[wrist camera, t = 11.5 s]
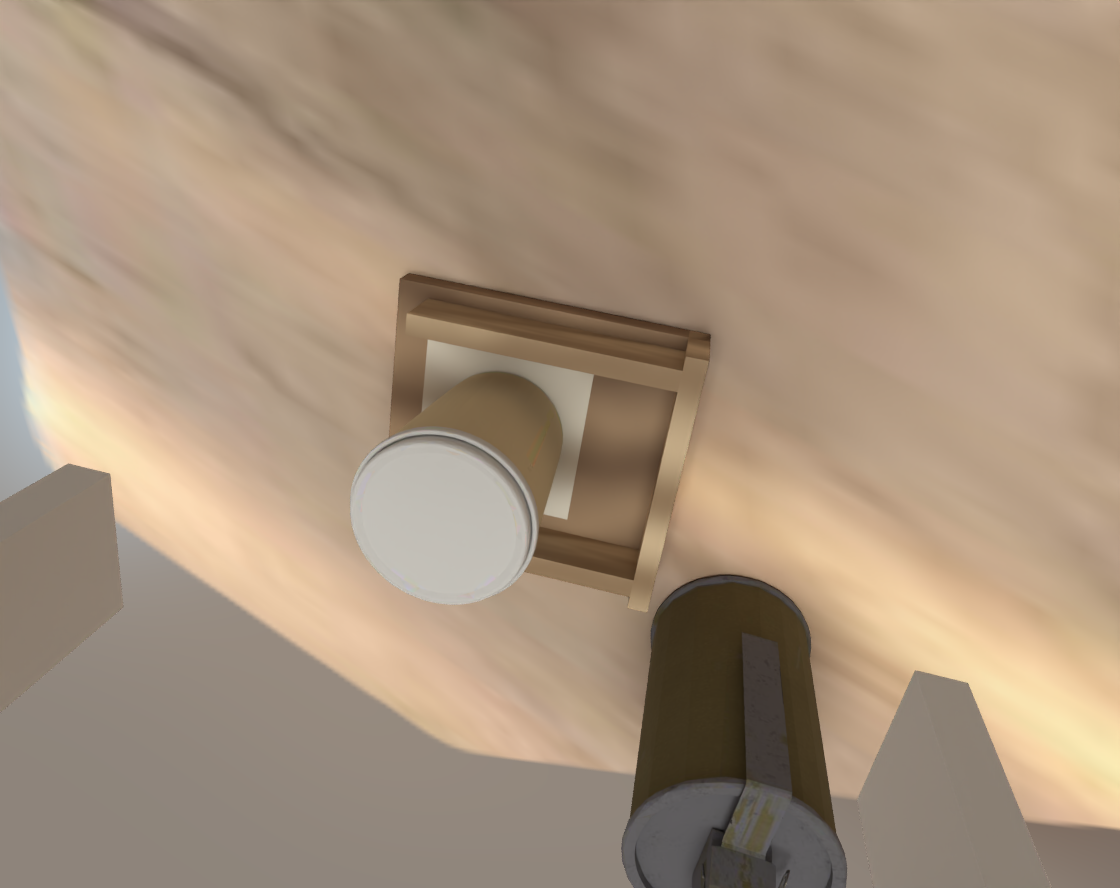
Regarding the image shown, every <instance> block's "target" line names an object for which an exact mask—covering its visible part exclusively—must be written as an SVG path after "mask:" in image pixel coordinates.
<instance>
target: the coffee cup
mask: <svg viewBox="0 0 1120 888" xmlns="http://www.w3.org/2000/svg"><path fill="white" fill-rule="evenodd" d="M562 444H563V430H562V424H561V420H560V417H559V414H558V412H557V410H556V408H555V405H554V404H553V403H552V401H551V400H550V398H549V397H548V396H547V395H546V393H545V392H544V391H543V390H542V389H541V388H539V387H538V386H537V385H535V384H534V383H532V382H531V381H529V380H527V379H525V378H523V377H521V376H518V375H515V374H511V373H507V372H498V371H496V372H484V373H479V374H476V375H473V376H471V377H469V378H467V379H465V380H463V381H462V382H460V383H459V384H457V385H456V386H454V387H453V388H452V389H450V390H449V391H448V392H446V393H445V394H444V395H443V396H441V397H440V398H439V399H438V400H436V401H435V402H434V403H432V404H431V405H430V406H429V407H427V408H426V409H425V410H424V411H422V412H421V413H420V414H419V415H417V416H416V417H415V418H414V419H413V420H411V421H410V422H409V423H408V424H406V425H405V426H404V427H403V428H401V429H400V430H399V431H398V432H397V433H395V434H394V435H392V436H390V437H389V438H387V439H386V440H384V441H383V442H381V443H380V444H378V445H377V446H376V447H375V448H374V449H372V450H371V452H370V453H369V454H368V455H367V456H366V457H365V459H364V460H363V462H362V463H361V465H360V466H359V468H358V470H357V472H356V475H355V477H354V480H353V484H352V488H351V496H350V516H351V523H352V527H353V531H354V535H355V537H356V540H357V543H358V545H359V547H360V549H361V550H362V552H363V554H364V555H365V557H366V559H367V560H368V561H369V562H370V564H371V565H372V566H373V567H374V568H375V570H376V571H377V572H378V573H379V574H380V575H381V576H383V577H384V578H385V579H386V580H387V581H388V582H390V583H391V584H392V585H394V586H395V587H397V588H399V589H400V590H402V591H404V592H406V593H407V594H409V595H412V596H414V597H417V598H419V599H422V600H425V601H429V602H434V603H440V604H451V605H458V604H468V603H474V602H477V601H481V600H483V599H486V598H489V597H491V596H493V595H496V594H498V593H500V592H501V591H503V590H505V589H506V588H508V587H509V586H510V585H512V584H513V583H514V582H515V581H516V580H517V579H518V578H519V577H520V576H521V575H522V573H523V572H524V571H525V569H526V568H527V566H528V565H529V563H530V561H531V559H532V557H533V554H534V551H535V548H536V544H537V539H538V532H539V527H540V524H541V520H542V517H543V514H544V510H545V507H546V504H547V500H548V497H549V494H550V490H551V487H552V483H553V480H554V476H555V473H556V469H557V466H558V462H559V459H560V454H561V449H562Z"/></svg>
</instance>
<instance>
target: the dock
mask: <svg viewBox="0 0 1120 888" xmlns="http://www.w3.org/2000/svg"><path fill="white" fill-rule="evenodd" d="M710 338H711V335H710V334H705V333H700V332H695V331H690V330H685V329H680V328H675V327H671V326H666V325H661V324H656V323H651V322H646V321H641V320H636V319H631V318H626V317H621V316H616V315H611V314H607V313H602V312H597V311H592V310H587V309H582V308H577V307H572V306H567V305H562V304H557V303H552V302H547V301H542V300H538V299H533V298H528V297H523V296H518V295H513V294H508V293H503V292H498V291H493V290H488V289H483V288H478V287H474V286H469V285H464V284H459V283H454V282H449V281H444V280H439V279H434V278H429V277H424V276H419V275H414V274H410V273H409V274H407V275H405V276H404V277H402V278H400V283H399V297H398V312H397V327H396V341H395V356H394V371H393V385H392V400H391V414H390V429H389V437H390V436H392V435H394V434H395V433H397V432H398V431H399V430H400V429H401V428H403V427H404V426H405V425H406V424H408V423H409V422H410V421H411V420H413V419H414V418H415V417H416V416H417V415H419V414H420V413H421V412H422V411H424V410H425V409H426V408H427V407H429V406H430V405H431V404H432V403H434V402H435V401H436V400H438V399H439V398H440V397H441V396H443V395H444V394H445V393H446V392H448V391H449V390H450V389H452V388H453V387H454V386H456V385H457V384H459V383H460V382H462V381H463V380H465V379H467V378H469V377H471V376H473V375H476V374H479V373H484V372H496V371H498V372H507V373H511V374H515V375H518V376H521V377H523V378H525V379H527V380H529V381H531V382H532V383H534V384H535V385H537V386H538V387H539V388H541V389H542V390H543V391H544V392H545V393H546V395H547V396H548V397H549V398H550V400H551V401H552V403H553V404H554V405H555V408H556V410H557V412H558V414H559V417H560V420H561V424H562V430H563V444H562V449H561V454H560V459H559V462H558V466H557V469H556V473H555V476H554V480H553V483H552V487H551V490H550V494H549V497H548V500H547V504H546V507H545V510H544V514H543V517H542V520H541V524H540V527H539V532H538V539H537V544H536V548H535V551H534V554H533V557H532V559H531V561H530V563H529V565H528V566H527V568H526V569H525V571H524V572H527V573H532V574H536V575H540V576H544V577H548V578H552V579H557V580H561V581H565V582H569V583H573V584H577V585H581V586H586V587H590V588H594V589H598V590H602V591H606V592H611V593H615V594H619V595H623V596H627V597H629V602H628V607H627V608H629V609H633V610H638V611H642V612H646V613H647V611H648V607H649V603H650V599H651V595H652V591H653V587H654V582H655V578H656V574H657V570H658V566H659V562H660V558H661V554H662V550H663V546H664V542H665V538H666V534H667V530H668V526H669V522H670V518H671V514H672V510H673V506H674V502H675V498H676V494H677V489H678V485H679V481H680V477H681V473H682V469H683V465H684V461H685V457H686V453H687V449H688V445H689V441H690V437H691V433H692V429H693V425H694V421H695V417H696V413H697V409H698V405H699V401H700V396H701V392H702V388H703V384H704V380H705V376H706V372H707V368H708V364H709V356H710Z"/></svg>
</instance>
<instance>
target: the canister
mask: <svg viewBox="0 0 1120 888" xmlns="http://www.w3.org/2000/svg"><path fill="white" fill-rule="evenodd" d="M651 649H652V652H651V660H650V668H649V675H648V683H647V691H646V698H645V706H644V714H643V721H642V729H641V737H640V745H639V752H638V760H637V768H636V775H635V783H634V791H633V798H632V806H631V814H630V819H629V821H628V823H627V827H626V829H625V832H624V835H623V838H622V848H621V849H622V862H623V865H624V868H625V871H626V874H627V877H628V879H629V881H630V882H631V884H632V885H633V887H634V888H846V879H847V863H846V858H845V853H844V850H843V848H842V846H841V843H840V841H839V839H838V836H837V834H836V829H835V823H834V816H833V810H832V803H831V796H830V789H829V783H828V776H827V770H826V763H825V757H824V750H823V744H822V737H821V731H820V724H819V717H818V711H817V704H816V698H815V691H814V685H813V678H812V672H811V665H810V652H811V637H810V632H809V628H808V625H807V623H806V621H805V619H804V617H803V615H802V613H801V611H800V610H799V609H798V608H797V607H796V605H795V604H794V603H793V602H792V601H791V600H790V599H789V598H788V597H786V596H785V595H784V594H783V593H782V592H780V591H779V590H777V589H775V588H773V587H771V586H769V585H767V584H765V583H763V582H761V581H757V580H753V579H750V578H745V577H737V576H716V577H710V578H704V579H698V580H696V581H694V582H691V583H689V584H686V585H684V586H682V587H681V588H679V589H678V590H676V591H675V592H674V593H673V594H672V595H671V596H670V597H668V598H667V599H666V600H665V601H664V602H663V604H662V605H661V606H660V608H659V609H658V610H657V613H656V615H655V617H654V620H653V624H652V628H651Z"/></svg>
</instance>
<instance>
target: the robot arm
mask: <svg viewBox="0 0 1120 888" xmlns="http://www.w3.org/2000/svg"><path fill="white" fill-rule="evenodd" d="M122 608H123V598H122V588H121V578H120V568H119V558H118V548H117V537H116V527H115V517H114V507H113V497H112V487H111V477H110V474H109V473H105V472H101V471H97V470H93V469H88V468H84V467H80V466H76V465H72V464H67V465H65V466H63V467H61V468H60V469H58V470H56V471H54V472H53V473H51V474H49V475H48V476H46V477H44V478H42V479H40V480H39V481H37V482H35V483H33V484H31V485H30V486H28V487H26V488H24V489H23V490H21V491H19V492H17V493H16V494H14V495H12V496H10V497H9V498H7V499H5V500H3V501H2V502H0V713H1V712H2V711H3V710H4V709H6V707H8V706H9V705H10V704H11V703H12V702H14V701H15V700H16V699H17V698H18V697H20V696H21V695H22V694H23V693H24V692H25V691H27V690H28V689H29V688H30V687H31V686H32V685H33V684H35V683H36V682H37V681H38V680H39V679H40V678H42V677H43V676H44V675H45V674H46V673H47V672H48V671H50V670H51V669H52V668H53V667H54V666H56V665H57V664H58V663H59V662H60V661H61V660H63V659H64V658H65V657H66V656H67V655H68V654H70V653H71V652H72V651H73V650H74V649H75V648H77V647H78V646H79V645H80V644H81V643H82V642H84V641H85V640H86V639H87V638H88V637H89V636H91V635H92V634H93V633H94V632H95V631H96V630H97V629H98V628H100V627H101V626H102V625H103V624H105V623H106V622H107V621H108V620H109V619H110V618H112V617H113V616H114V615H115V614H116V613H117V612H119V611H120V610H121V609H122ZM857 803H858V808H859V814H860V819H861V824H862V830H863V835H864V841H865V846H866V851H867V857H868V862H869V867H870V873H871V878H872V884H873V888H1052V887H1051V885H1050V882H1049V880H1048V878H1047V875H1046V873H1045V870H1044V868H1043V865H1042V863H1041V860H1040V858H1039V855H1038V853H1037V851H1036V848H1035V846H1034V843H1033V841H1032V838H1031V836H1030V833H1029V831H1028V829H1027V826H1026V824H1025V821H1024V819H1023V816H1022V814H1021V811H1020V809H1019V806H1018V804H1017V802H1016V799H1015V797H1014V794H1013V792H1012V789H1011V787H1010V784H1009V782H1008V780H1007V777H1006V775H1005V772H1004V770H1003V767H1002V765H1001V762H1000V760H999V758H998V755H997V753H996V750H995V748H994V745H993V743H992V741H991V738H990V736H989V733H988V731H987V728H986V726H985V723H984V721H983V719H982V716H981V714H980V711H979V709H978V706H977V704H976V701H975V699H974V697H973V694H972V692H971V689H970V687H969V684H968V683H965V682H961V681H957V680H953V679H949V678H945V677H941V676H937V675H933V674H929V673H924V672H920V671H916V670H915V672H914V674H913V676H912V678H911V681H910V683H909V685H908V687H907V690H906V692H905V694H904V696H903V699H902V701H901V703H900V705H899V707H898V710H897V712H896V714H895V716H894V719H893V721H892V723H891V725H890V728H889V730H888V732H887V734H886V736H885V739H884V741H883V743H882V745H881V748H880V750H879V752H878V754H877V757H876V759H875V761H874V763H873V766H872V768H871V770H870V772H869V774H868V777H867V779H866V781H865V783H864V786H863V788H862V790H861V792H860V795H859V797H858V799H857Z"/></svg>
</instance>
